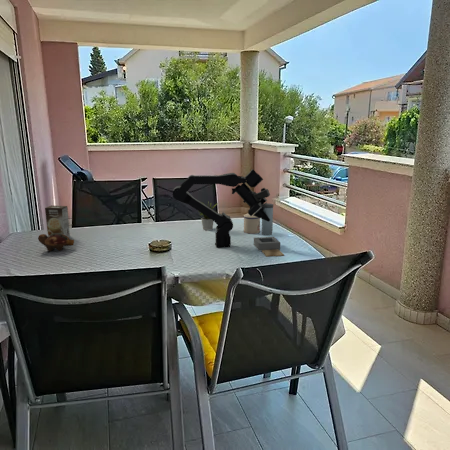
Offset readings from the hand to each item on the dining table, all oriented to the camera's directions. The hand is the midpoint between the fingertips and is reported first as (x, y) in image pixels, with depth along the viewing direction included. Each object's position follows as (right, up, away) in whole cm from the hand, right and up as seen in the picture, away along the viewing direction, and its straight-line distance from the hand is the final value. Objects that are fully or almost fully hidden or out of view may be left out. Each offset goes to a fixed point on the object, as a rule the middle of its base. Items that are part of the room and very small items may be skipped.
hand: (270, 219), depth 180 cm
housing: (-1, -13, +4) cm, 14 cm away
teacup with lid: (-7, -6, +32) cm, 34 cm away
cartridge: (-1, -7, +2) cm, 7 cm away
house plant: (-32, -5, +37) cm, 49 cm away
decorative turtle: (-98, -14, +1) cm, 99 cm away
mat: (0, -15, -5) cm, 16 cm away
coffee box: (-106, -9, +21) cm, 109 cm away
